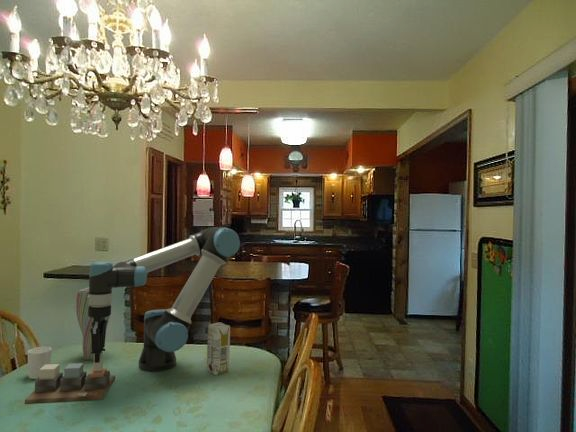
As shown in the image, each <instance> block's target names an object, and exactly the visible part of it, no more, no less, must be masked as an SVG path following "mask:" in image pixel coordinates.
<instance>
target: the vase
mask: <svg viewBox="0 0 576 432" xmlns="http://www.w3.org/2000/svg"><path fill="white" fill-rule="evenodd" d="M87 296H89V286H88V287H85V288H82V289H79V290H78V291H76V298H75V312H76V313H75V314H76V318H77V322H78V325H79V328H80V332H81V334H82V353H83V360H90V361H91V360H92V361H94V354H91V352H92V340H91V331H90V330H91V328H93V327H92V322H94V318H91V317H89V316H88V307H89V306H90V305H89V298H87ZM110 305H111V306H112V303H111V304H110ZM110 317H111V315H110V316H108V317H105V320H107V326H106V330H107V328H108V325H109V321H110Z"/></svg>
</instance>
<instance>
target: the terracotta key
mask: <svg viewBox="0 0 576 432" xmlns="http://www.w3.org/2000/svg"><path fill="white" fill-rule="evenodd" d="M107 369H108V368H107V367H105V368H103V367H102V371H93V368H92V369H91V370H90V371H89V373H88V374H89V378H93V377H104V376H105V375H106V373H107V371H108V370H107Z"/></svg>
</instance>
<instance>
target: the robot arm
mask: <svg viewBox="0 0 576 432" xmlns="http://www.w3.org/2000/svg"><path fill="white" fill-rule="evenodd" d="M240 245H241V241H240V237H239V235H238V233H237V232H236V231H235V230H234V229H231V228H229V227H225V226H224V227H219V226H212V227H208V228H206V229H203V230H201V231H199V232H196V233H193V234H191V235H189V238H186V239H183V240H180V241H179V242H176V243H173V244H169V245H167V246H165V247H162V248H160V249H159V248H158V249H156V250H153V251H151V252H150V251H149V252H147V253H145V254H143V255H140V256H137V257H133V258H132V259H128V260H126V261H119V262H118V261H117V262H116V263H114V265H113V263H112V262H111V261H94V262H92V263H91V264H90V266H89V274H88V275H89V278H88V287H89V296H87V298H89V305H90V306H89V307H88V316H89V317H91V318H94V322H92V327H93V328H91V330H90V331H91V340H92V352H91V354H94V360H92V361H93V364H92V365H93V366H92V369H93V371H102V368H103V362H104V361H103V360H104V359H103V357H104V352H105V351H106V348H105V347H106V336H107V335H106V334H107V329H106V326H107V327H108V325H107V320H105V317H108V316H110V317H111V314H112V300H113V299H112V296H113V295H112V293H113V292H112V291H113V288H131V287H133V288H134V287H135V288H137V287H143V286H144V285H146V283H147V279H148V278H147V277H148V274H149V273H150V272H153V271H155V270H158V269H160V268H163V267H166V266H168V265H171V264H173V263H177V262H178V261H182V260H184V259H187V258H189V257H192V256H194V255H196V256H197V257H199V256H201V257H200V258H199V260H198V263H197V264H196V266H195V267H194V268H193V271H192V272H191V274H190V276H189V278H188V279H187V281H186V282H185V284H184V286H183V287H182V290H181V291H180V293H179V295H178V296H177V298H176V299H175V301H174V303H173V304H172V306H171V307H170V308H167V309H164V308H163V309H151V310H148V311H146V312H145V313H144V318H143V321H144V322H143V348H142V351H141V354H140V356H139V359H138V364H137V365H138V368H139V369H140V370H142V371H148V372H159V371H166V370H169V369H171V368H173V367H175V366H176V364H177V357H176V353H175V352H176V351H179V350H181V349H182V348H183V347H184V346H185V345H186V343H187V342H188V339H189V329H190V327H191V325H192V320H191V319H192V316H193V314H194V312H195V310H196V309H197V308H198V306H199V304H200V302H201V301H202V299H203V297H204V295H205V293H206V291H207V289H208V288H209V286H210V284H211V282H212V280H213V279H214V277H215V276H216V274H217V271H219V268H220V267H221V266H223V265H226V264H227V262H228V260H230V257H232V256H235V254H236V253H238V251H239V250H240ZM110 304H111V305H110Z"/></svg>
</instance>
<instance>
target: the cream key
mask: <svg viewBox="0 0 576 432" xmlns="http://www.w3.org/2000/svg"><path fill="white" fill-rule="evenodd" d="M59 373H60V363H53V364H51V363H50V364H47V365H44V366H43V367H42V368H41V369H39V380H45V379H55V378H56V377H57V376H58V375H59Z"/></svg>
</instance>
